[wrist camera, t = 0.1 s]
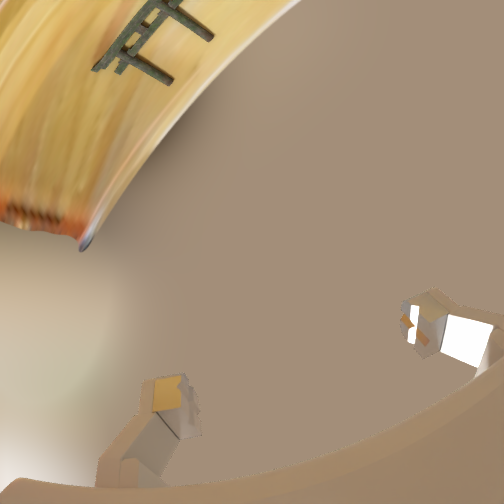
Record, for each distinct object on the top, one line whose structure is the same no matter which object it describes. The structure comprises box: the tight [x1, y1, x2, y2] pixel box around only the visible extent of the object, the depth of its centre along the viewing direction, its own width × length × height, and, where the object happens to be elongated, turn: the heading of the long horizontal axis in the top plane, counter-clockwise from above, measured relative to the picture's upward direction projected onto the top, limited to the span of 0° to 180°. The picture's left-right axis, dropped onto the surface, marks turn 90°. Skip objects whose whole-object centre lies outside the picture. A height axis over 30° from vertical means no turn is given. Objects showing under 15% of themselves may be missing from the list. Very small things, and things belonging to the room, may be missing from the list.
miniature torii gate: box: [91, 0, 214, 86], centre depth 41 cm, size 22×2×15 cm
